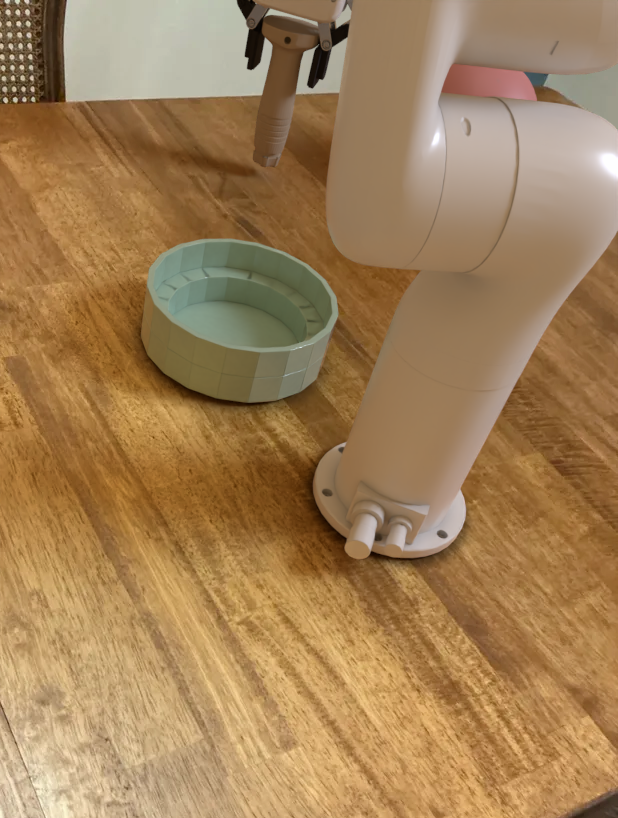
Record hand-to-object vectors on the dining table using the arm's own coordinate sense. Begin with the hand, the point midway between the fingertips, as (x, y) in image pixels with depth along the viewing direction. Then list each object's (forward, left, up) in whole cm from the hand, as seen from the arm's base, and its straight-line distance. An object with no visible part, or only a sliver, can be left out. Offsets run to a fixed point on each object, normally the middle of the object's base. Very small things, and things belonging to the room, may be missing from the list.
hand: (283, 73), depth 98 cm
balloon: (+13, -24, -12) cm, 29 cm away
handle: (0, 0, -10) cm, 10 cm away
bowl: (-34, -8, -12) cm, 37 cm away
